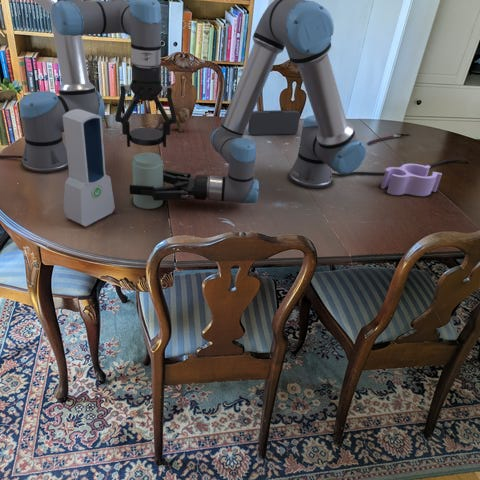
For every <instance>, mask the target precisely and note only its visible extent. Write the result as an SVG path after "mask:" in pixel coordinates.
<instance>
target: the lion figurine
mask: <svg viewBox="0 0 480 480" xmlns="http://www.w3.org/2000/svg"><path fill="white" fill-rule="evenodd" d="M166 114H167V116H168V117H169V118H171V114H169V113H166ZM175 114H176V118H177V122H176V123H172V124H171V125H176V129H177V130H178V132H183V129H182V125H183V124H186V122H187V121H188V120H189V118H190V109H188V108H186V107H184V108H181V109H180V111H178V112H177V113H175ZM163 122H165V120H164V118H163V116H162V115H161V114H160V116H159V118H158V121H157V124H156V127H154V129H157V130H158V129H162V126H161V125H163Z"/></svg>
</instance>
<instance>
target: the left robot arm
mask: <svg viewBox="0 0 480 480" xmlns="http://www.w3.org/2000/svg"><path fill="white" fill-rule="evenodd" d="M33 1H34V2H35V3H36V4H37V5H39V7H41V8H42V9H43V10H44V11H46V12H47V13H48V14H49V18H50V24H51V28H52V33H53V35H52V36H53V40H54V45H55V51H56V56H57V63H58V67H59V73H60V74H59V75H60V79H61V85H60V86H59V87H58V94H59V95H58V94H57V93H56V92H54V91H51V90H45V91H43V90H40V91H33V92H31V93H27V94H26V95H24V96H23V97H21V98H20V100H19V103H18V104H19V116H20V119H21V125H22V132H23V137H24V148H23V153H22V155H11V154H10V155H7V154H6V155H5V154H0V158H3V159H22V160H21V161H22V166H23V168H24V169H25V170H27V171H29V172H33V173H39V174H46V173H56V172H61V171H63V170H66V169H67V168H68V159H67V150H66V144H65V143H64V140H63V133H64V125H63V115H64V114H65V113H67V112H69V111H71V110H74V109H80V110H84V111H87V112H90V113H93V114H96V115H99V116H102V121H103V120H104V119H103V118H104V113H105V111H106V108H105V107H106V106H105V101H104V99H103V96H102V94H101V93H100V92H99V90H98V91H96V87H94V85H92V83H90V80H89V79H90V78H88V75H89V74H88V72H89V71H87V69H88V68H87V66H88V64H87V65H86V62H87V58H86V52H85V48H84V40H83V36H87V35H89V36H91V35H108V34H110V35H111V34H125V35H127V36H130V61H131V63H132V64H131V66H130V67H131V69H130V71H131V81H130V83H129V84H124V83H120V84H119V90H120V94H119V99H118V103H117V107H116V112H115V115H114V117H115V119H114V120H115V122H117V123H121V128H122V135H124V136H126V147H127V148H130V147H131V141H130V131H131V130H130V129H131V128H130V127H131V126H130V121H129V120H130V118H131V116H132V114H133V112H134V111H135V109H136V107H137V105H138V104H139V102H146V101H147V102H154V104H155V105H156V107H157V109H158V111H159V113H160V116H161V115H162V116H163V118H164V120H165V122H163V123H162V133H163V142H162V146H163V148H167V136H170V135H171V125H173V124H172V123H176V122H177V118H176V114H177V113H176V110H175V106H174V102H173V97H172V96H173V95H172V94H173V88H172V86H171V85H167V86H166V85H162V84H161V71H162V69H161V59H162V57H161V55H162V54H161V51H162V50H161V49H162V47H161V45H162V20H163V19H162V9H161V8H162V7H161V3H160V1H158V0H130V1H127V0H33ZM129 91H131V92H132V93H133V97H132V99H131V100H130V103H129V104H128V107H126V108H127V109H126V111H124V114H123V116H122V113H123V110H124V105H125V100H126V96H127V95H126V94H129ZM162 92H163V94H164V95H165V96H166V100H167V104H168V109H169V113H170V115H171V118H169V117H168V116H167V114H168V113H167V111H166V109H165V107H164V106H163V105H162V102H161V101H160V98H159V97H158V96H159V95H160V94H161V93H162ZM105 114H106V113H105Z"/></svg>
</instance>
